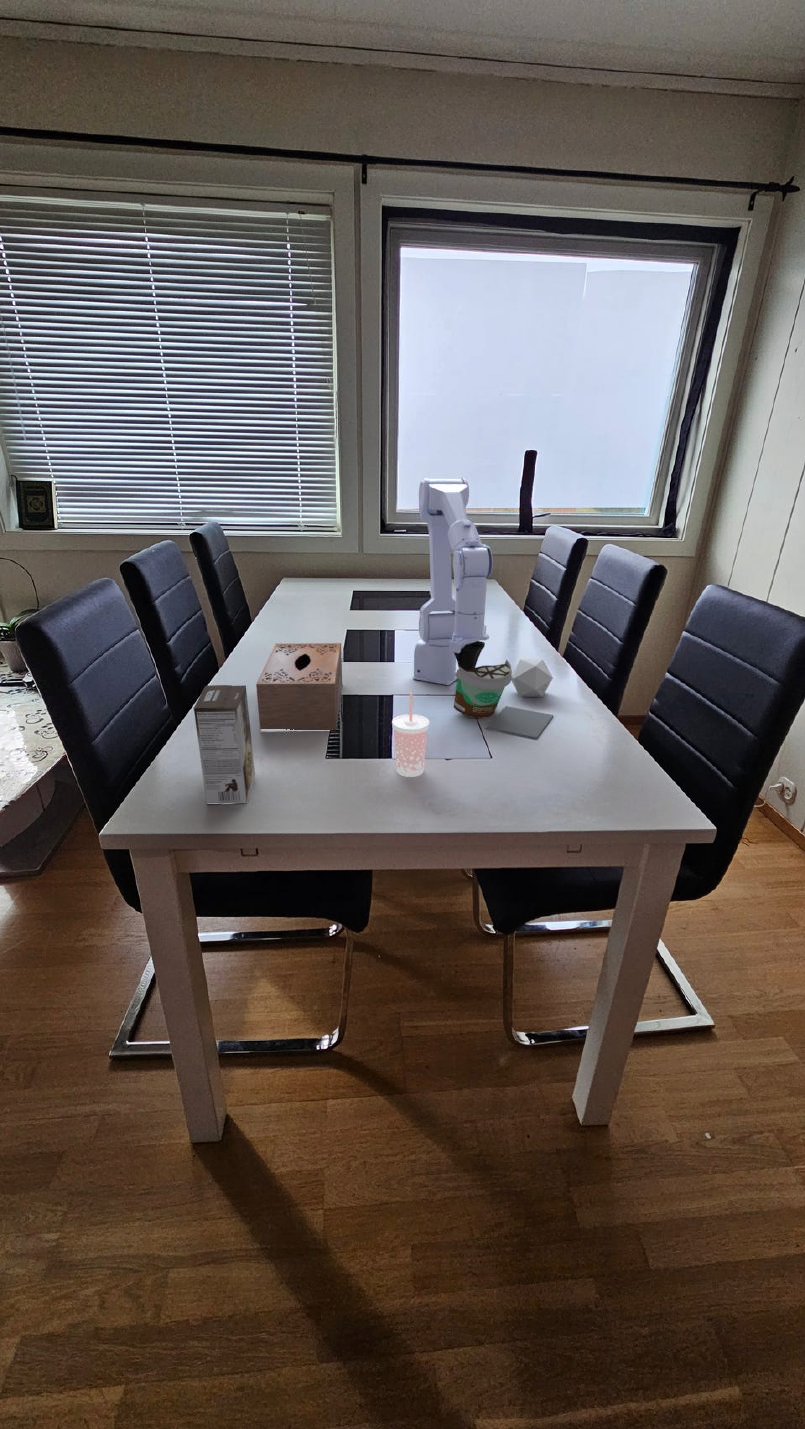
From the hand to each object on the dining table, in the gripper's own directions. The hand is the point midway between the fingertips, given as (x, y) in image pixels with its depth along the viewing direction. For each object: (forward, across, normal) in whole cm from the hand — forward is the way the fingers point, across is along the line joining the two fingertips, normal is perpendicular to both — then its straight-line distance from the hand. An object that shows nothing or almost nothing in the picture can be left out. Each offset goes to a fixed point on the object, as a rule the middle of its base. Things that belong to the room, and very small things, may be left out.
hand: (466, 677), depth 124 cm
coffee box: (+8, -47, +20) cm, 52 cm away
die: (+8, +16, -9) cm, 20 cm away
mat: (+7, 0, -12) cm, 14 cm away
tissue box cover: (+8, -13, +31) cm, 34 cm away
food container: (+7, 0, -3) cm, 8 cm away
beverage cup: (+8, -28, -1) cm, 29 cm away
